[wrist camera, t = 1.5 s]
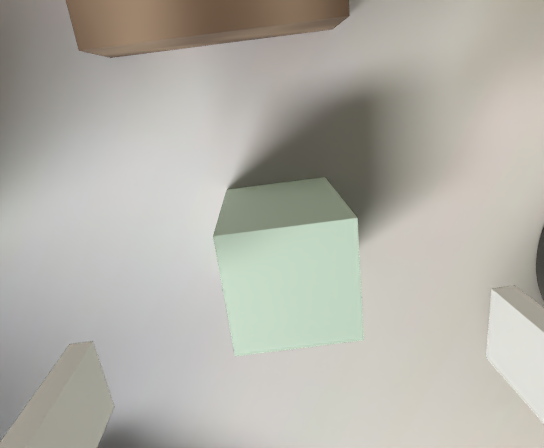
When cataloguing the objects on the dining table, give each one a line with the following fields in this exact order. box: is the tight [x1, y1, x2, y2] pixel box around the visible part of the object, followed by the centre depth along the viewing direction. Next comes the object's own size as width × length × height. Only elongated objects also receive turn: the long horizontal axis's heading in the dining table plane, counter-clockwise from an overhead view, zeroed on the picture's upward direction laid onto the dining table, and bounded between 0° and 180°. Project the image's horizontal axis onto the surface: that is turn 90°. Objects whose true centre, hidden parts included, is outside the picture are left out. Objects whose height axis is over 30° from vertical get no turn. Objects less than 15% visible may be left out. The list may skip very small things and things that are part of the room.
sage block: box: [213, 177, 364, 356], centre depth 21 cm, size 6×6×8 cm
